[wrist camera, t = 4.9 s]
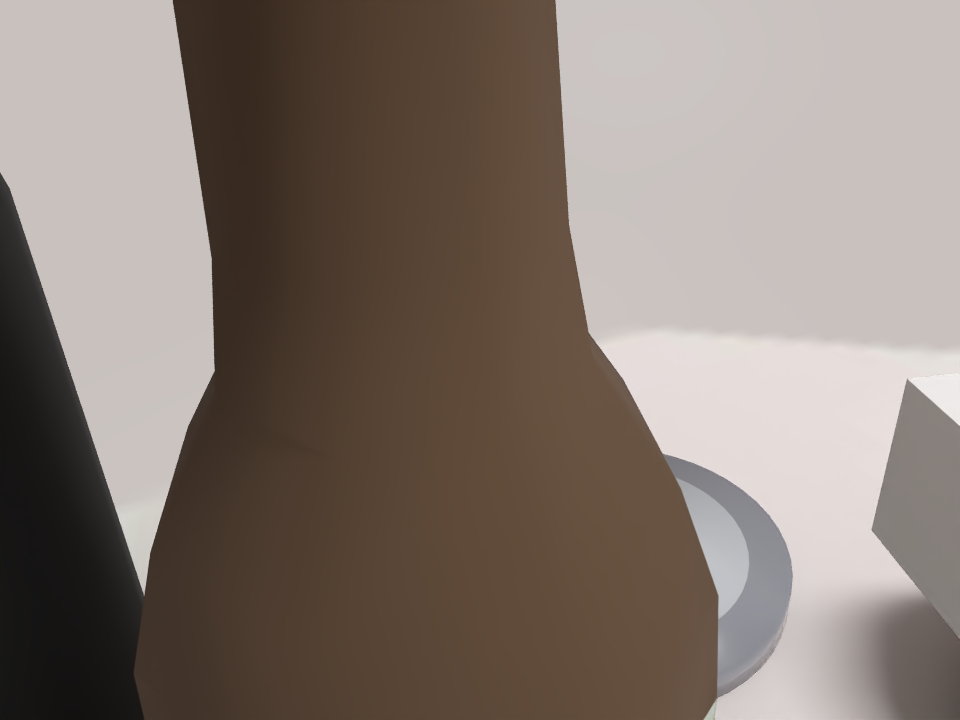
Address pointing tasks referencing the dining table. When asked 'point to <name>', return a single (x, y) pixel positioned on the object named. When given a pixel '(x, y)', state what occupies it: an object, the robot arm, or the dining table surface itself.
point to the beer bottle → (408, 396)
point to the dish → (738, 570)
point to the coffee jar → (55, 524)
